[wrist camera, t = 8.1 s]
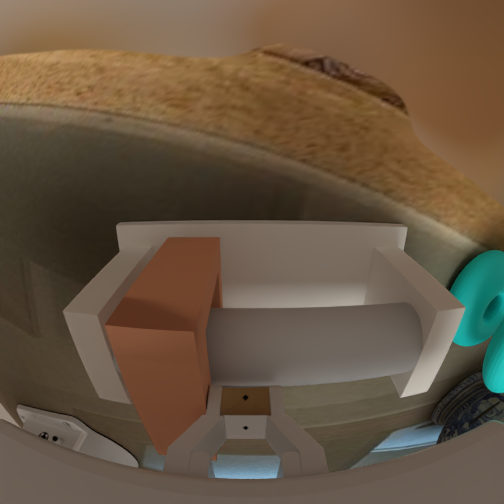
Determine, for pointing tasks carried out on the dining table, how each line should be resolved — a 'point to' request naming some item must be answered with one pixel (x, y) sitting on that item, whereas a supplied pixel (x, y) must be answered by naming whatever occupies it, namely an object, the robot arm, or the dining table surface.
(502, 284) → the donuts
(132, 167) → the dining table surface
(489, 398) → the decorative vase
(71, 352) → the dining table surface
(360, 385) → the dining table surface
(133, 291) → the angular ring
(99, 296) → the pipe stand
